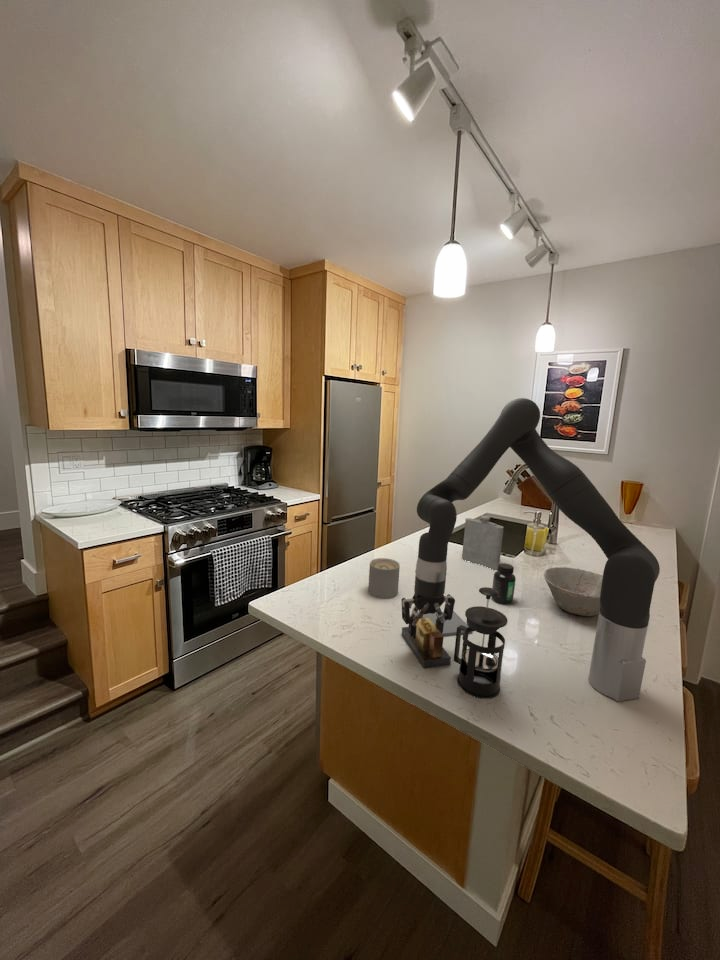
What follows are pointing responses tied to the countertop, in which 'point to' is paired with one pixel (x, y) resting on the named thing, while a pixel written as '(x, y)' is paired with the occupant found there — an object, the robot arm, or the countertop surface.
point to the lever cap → (424, 632)
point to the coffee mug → (383, 578)
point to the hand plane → (434, 654)
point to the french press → (481, 649)
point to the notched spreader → (482, 542)
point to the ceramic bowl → (575, 589)
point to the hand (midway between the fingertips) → (425, 635)
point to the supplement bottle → (504, 584)
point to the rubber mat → (448, 623)
